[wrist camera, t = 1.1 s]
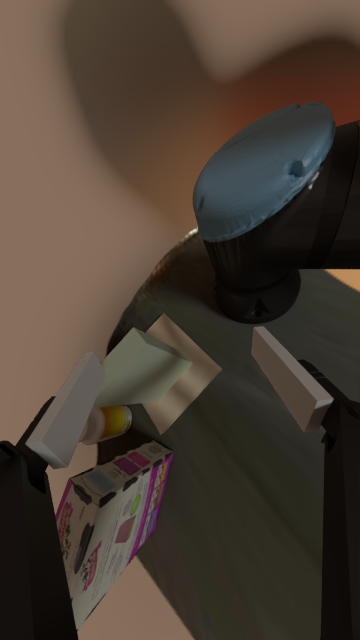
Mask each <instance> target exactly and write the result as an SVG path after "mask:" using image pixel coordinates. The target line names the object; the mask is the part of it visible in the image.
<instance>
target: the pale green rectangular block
mask: <svg viewBox="0 0 360 640" xmlns="http://www.w3.org/2000/svg"><path fill="white" fill-rule="evenodd" d="M100 364H101V366H102V368H103V370H104V372H105V374H106V375H105V378H104V380H103V383H102V385H101V388H100V390H99V392H98V395H97V397H96V400H95V402H94V405H93V407H92V408H98V407H108V406H118V405H127V404H137V403H147V402H156V401H159V400H160V399H161V398H162V396H163V395H164V394H165V393H166V392H167V391H168V390H169V389H170V388H171V387H172V386H173V384H174V383H175V382H176V381H177V380H178V379H179V378H180V377H181V376H182V375H183V374H184V372H185V371H186V370H187V369H188V368H189V367H190V366H191V365H192V364H193V362H192V361H191V360H190V359H189V358H188V357H187V356H186V355H185V354H184V353H183V352H181V351H179V350H177V349H175V348H173V347H171V346H169V345H167V344H165V343H163V342H162V341H160V340H158V339H156V338H154V337H152V336H150V335H148V334H146V333H144V332H142V331H140V330H138V329H136V328H134V327H133V328H132V329H131V331H130V332H129V333H128V334H127V335H126V336H125V337H124V338H123V339H122V340H121V342H120V343H119V344H118V345H117V346H116V347H115V348H114V349H113V350H112V351H111V352H110V354H109V355H108V356H107V357H106V358H105V359H104V360H103V361H102V362H101V363H100Z"/></svg>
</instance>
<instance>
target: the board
mask: <svg viewBox="0 0 360 640" xmlns="http://www.w3.org/2000/svg"><path fill="white" fill-rule="evenodd" d="M146 334H148V335H150V336H152V337H154V338H156V339H158V340H160V341H162V342H163V343H165V344H167V345H169V346H171V347H173V348H175V349H177V350H179V351H181V352H183V353H184V354H185V355H186V356H187V357H188V358H189V359H190V360H191V361H192V362H193V364H192V365H191V366H190V367H189V368H188V369H187V370H186V371H185V372H184V374H183V375H182V376H181V377H180V378H179V379H178V380H177V381H176V382H175V383H174V384H173V386H172V387H171V388H170V389H169V390H168V391H167V392H166V393H165V394H164V395H163V396H162V398H161V399H160V400H159V401H156V402H147V403H142V404H143V406H144V408H145V409H146V411H147V413H148V414H149V416H150V418H151V419H152V421H153V423H154V424H155V426H156V428H157V429H158V431H159V433H160V434H163V433H164V432H165V431H166V430H167V429H168V428H169V427H170V426H171V425H172V423H173V422H174V421H175V420H176V419H177V418H178V417H179V416H180V415H181V414H182V413H183V411H184V410H185V409H186V408H187V407H188V406H189V405H190V404H191V403H192V402H193V401H194V399H195V398H196V397H197V396H198V395H199V394H200V393H201V392H202V391H203V390H204V389H205V387H206V386H207V385H208V384H209V383H210V382H211V381H212V380H213V379H214V378H215V377H216V375H217V374H218V373H219V372H220V371H221V370H222V368H221V367H219V366H218V365H217V364H216V363H215V362H214V361H213V360H212V359H211V358H210V357H209V356H208V355H207V354H206V353H205V352H204V351H203V350H202V349H201V348H200V347H199V346H198V345H197V344H196V343H195V342H193V341H192V340H191V339H190V338H189V337H188V336H187V335H186V334H185V333H184V332H183V331H182V330H181V329H180V328H179V327H178V326H177V325H176V324H175V323H174V322H173V321H172V320H171V319H170V318H169V317H167V316H166V315H165V314H164V313H163V314H162V315H161V316H160V317H159V318H158V319H157V321H156V322H155V323H154V324H153V325H152V326H151V327H150V328H149V329H148V330H147V331H146Z"/></svg>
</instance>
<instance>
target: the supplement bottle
mask: <svg viewBox="0 0 360 640" xmlns="http://www.w3.org/2000/svg"><path fill="white" fill-rule="evenodd" d="M131 421H132V415H131V411H130V409H129V408H128V407H127V406H126V405H118V406H108V407H98V408H92V409H91V412H90V414H89V417H88V419H87V422H86V424H85V426H84V429H83V431H82V434H81V436H80V438H79V441H78V442H83V443H84V444H86V445H92V444H95V443H98V442H101V441H104V440H108V439H111V438H114V437H117V436H120V435H122V434H124V433H126V432H127V430H128V429H129V427H130V425H131Z"/></svg>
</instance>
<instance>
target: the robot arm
mask: <svg viewBox="0 0 360 640" xmlns="http://www.w3.org/2000/svg"><path fill="white" fill-rule="evenodd" d="M193 208H194V212H195V216H196V219H197V223H198V230H199V234H200V236H201V237H202V238H203V241H204V244H205V246H206V249H207V251H208V254H209V257H210V259H211V262H212V265H213V267H214V270H215V273H216V276H215V282H214V295H215V299H216V301H217V303H218V305H219V307H220V309H221V310H222V311H223V312H224V313H225V314H226V315H227V316H228V317H230V318H231V319H233V320H235V321H238V322H241V323H246V324H261V323H266V322H269V321H272V320H275V319H277V318H279V317H280V316H282V315H283V314H285V313H286V312H287V311H288V310H289V309H290V308H291V307H292V305H293V304H294V302H295V300H296V298H297V296H298V293H299V290H300V285H301V278H300V273H299V271H298V269H360V120H357V121H355V122H351V123H348V124H344V125H341V126H338V127H336V126H335V122H334V120H333V113H332V111H331V110H330V108H329V107H328V106H327V105H325V104H322V103H318V102H308V103H307V104H305V105H303V106H301V107H300V105H299V104H298V103H297V104H292V105H289V106H286V107H283V108H281V109H278V110H276V111H273V112H271V113H269V114H267V115H265V116H263V117H261V118H260V119H258V120H256V121H255V122H253V123H251V124H250V125H248V126H247V127H245V128H244V129H242V130H241V131H239V132H238V133H237V134H235V135H234V136H233V137H232V138H231V139H229V140H228V141H227V142H226V143H225V144H224V145H223V146H222V147H221V148H220V149H219V150H218V151H217V152H216V153H215V154H214V155H213V156H212V158H211V159H210V160H209V161H208V162H207V164H206V165H205V167H204V168H203V170H202V171H201V173H200V175H199V177H198V179H197V182H196V185H195V187H194V192H193ZM251 354H252V355H253V357H254V358H255V360H256V361H257V363H258V364H259V366H260V367H261V369H262V370H263V372H264V373H265V375H266V376H267V378H268V379H269V381H270V382H271V384H272V385H273V387H274V388H275V390H276V391H277V393H278V394H279V396H280V397H281V399H282V400H283V402H284V404H285V405H286V407H287V408H288V410H289V411H290V413H291V414H292V416H293V417H294V419H295V420H296V422H297V423H298V425H299V426H300V428H301V429H302V431H303V432H304V433H307V432H314V431H318V430H319V428H320V426H321V425H322V426H323V428H324V429H325V430H326V433H325V434H324V436H323V438H322V441H321V443H324V442H325V459H324V509H323V559H322V610H321V638H320V640H360V403H358V402H355V401H351V400H349V399H348V398H347V397H346V396H345V395H344V394H343V393H342V392H341V391H340V390H339V389H338V388H337V387H335V386H334V385H333V384H332V383H331V382H330V381H329V380H328V379H327V378H325V376H324V375H323V374H322V373H321V372H319V370H318V369H316V368H315V367H314V366H313V365H312V364H310V363H309V362H307V361H305V360H296V359H295V358H294V357H293V356H292V355H291V354H290V353H289V352H288V351H287V350H286V349H285V348H284V347H283V346H282V345H281V344H280V343H279V342H278V341H277V340H276V339H275V338H274V337H273V336H272V335H271V334H270V333H269V332H268V331H267V330H266V328H265V327H264V326H260V327H254V331H253V341H252V351H251ZM105 375H106V374H105V372H104V370H103V368H102V366H101V364H100V362H99V360H98V358H97V356H96V354H95V352H94V351H91V352H85V353H84V354H83V356H82V357H81V359H80V361H79V362H78V364H77V365H76V367H75V368H74V370H73V372H72V373H71V374H70V376H69V378H68V379H67V380H66V382H65V384H64V385H63V387H62V388H61V390H60V391H59V393H58V394H57V396H53V397H51V398H50V399H49V400H48V401H47V402H46V403H45V404H44V405H43V407H42V408H41V409H40V411H39V412H38V414H37V415H36V417H35V418H34V421H32V422H31V424H30V425H29V427H28V429H27V430H26V431H25V433H24V434H23V436H22V437H21V438H20V440H19V441H18V443H17V444H16V446H14V445H12V444H11V443H10V442H9V441H1V442H0V640H78V634H77V629H76V624H75V619H74V613H73V608H72V603H71V597H70V592H69V587H68V581H67V576H66V571H65V565H64V560H63V555H62V549H61V544H60V539H59V534H58V528H57V523H56V518H55V512H54V507H53V502H52V497H51V491H50V486H49V480H48V475H47V473H46V472H45V470H46V468H47V466H48V464H49V465H50V466H51V467H52V468H53V469H58V468H65V467H68V465H69V463H70V460H71V458H72V455H73V453H74V451H75V448H76V446H77V443H78V441H79V438H80V436H81V434H82V431H83V429H84V426H85V424H86V422H87V419H88V417H89V414H90V412H91V409H92V407H93V405H94V402H95V400H96V397H97V395H98V392H99V390H100V388H101V385H102V383H103V380H104V378H105Z"/></svg>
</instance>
